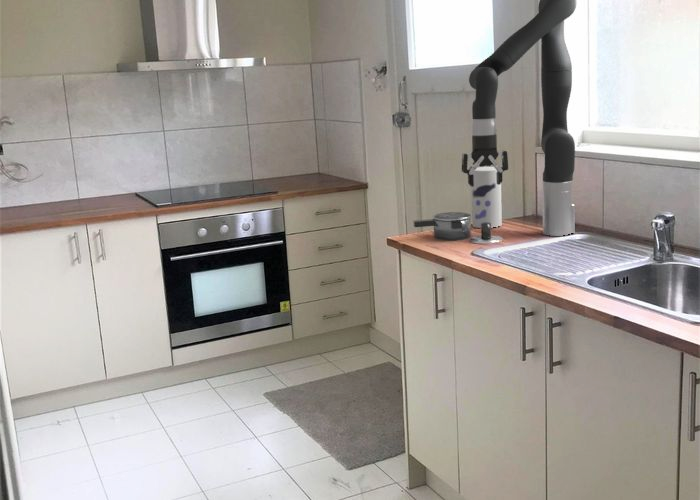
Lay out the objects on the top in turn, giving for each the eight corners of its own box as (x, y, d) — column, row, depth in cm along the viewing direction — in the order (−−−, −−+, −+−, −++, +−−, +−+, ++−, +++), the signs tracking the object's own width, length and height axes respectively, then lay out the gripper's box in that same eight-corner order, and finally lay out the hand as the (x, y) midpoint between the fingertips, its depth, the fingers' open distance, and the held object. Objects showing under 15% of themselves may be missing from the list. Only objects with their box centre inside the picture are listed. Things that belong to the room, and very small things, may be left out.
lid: (497, 236, 254) (497, 219, 252) (506, 243, 244) (506, 225, 242) (466, 239, 253) (466, 221, 252) (473, 245, 243) (473, 227, 242)
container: (472, 229, 266) (470, 170, 262) (472, 223, 276) (471, 166, 271) (502, 228, 264) (501, 169, 260) (501, 222, 274) (500, 165, 269)
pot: (466, 231, 263) (466, 211, 261) (476, 240, 249) (476, 218, 247) (411, 235, 262) (410, 215, 260) (419, 244, 248) (418, 223, 246)
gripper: (503, 130, 245) (504, 182, 248) (458, 133, 244) (460, 185, 247) (510, 132, 237) (510, 185, 241) (464, 135, 236) (465, 188, 240)
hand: (485, 185), depth 244 cm, fingers open, 8 cm apart
